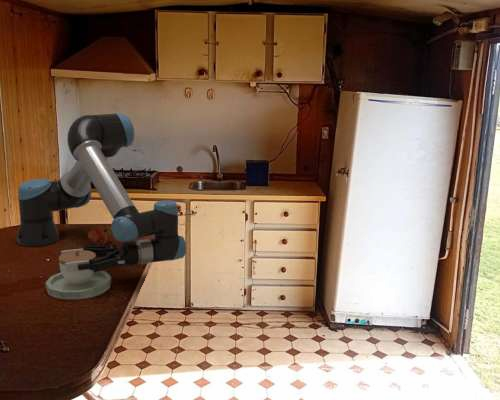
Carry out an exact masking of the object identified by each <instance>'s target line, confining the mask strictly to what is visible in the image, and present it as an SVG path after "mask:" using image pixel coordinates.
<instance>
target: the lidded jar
mask: <svg viewBox="0 0 500 400" xmlns="http://www.w3.org/2000/svg"><path fill="white" fill-rule="evenodd" d="M89 259H92V260H96V259H97V257H96V254H95V253H94V252H91V251H86V250H76V251H70V252H66V253H64V254H62V255H61V254H60V255H59V257H58V262H59V264H58V265H59V270H60V273H62V275H63V277H64V278H65V279H66V280H68V282H69V283H73V284H80V283H85V282H87V281H88V280H89V278H91V276H92V275H93V274H94V272H93V270H90V269H89V270H83V271H76V272H68V273H66V267H65V263H70V262H78V261H86V260H89Z"/></svg>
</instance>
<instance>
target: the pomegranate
mask: <svg viewBox="0 0 500 400" xmlns="http://www.w3.org/2000/svg"><path fill="white" fill-rule="evenodd" d="M107 231H108V229H107V228H106V229H104V230H103V229H101V228H92V229H90V231H89V232H88V234H87V238H88V239H89V240H91V242H90V243H89V244H88V245H87V246H90V245H92V244H93V245H106V244H107V242H108V235H107V234H106V233H107Z"/></svg>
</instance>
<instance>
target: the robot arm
mask: <svg viewBox="0 0 500 400" xmlns="http://www.w3.org/2000/svg"><path fill="white" fill-rule="evenodd" d="M133 125H134V124H133V122H132V121H131V119H130V117H128V115H127V114H124V113H116V112H115V113H107V114H105V113H103V114H86V115H81V116H79V117H78V118H76V119H75V120H74V121H73V122H72V124H71V125H70V127H69V129H68V132H67V147H68V149H69V152H70V154H71V155H72V158H73V159H74V160H75V161H76V162H75V163H74V164H73V166H72V168H71V169H70V171H67V172H65V173H63V174H62V176H61V178H60V179H59V180H53V181H51V180H50V178H44V177H43V178H34V179H29V180H27V181H24V182H22V183H21V184H19V186H18V188H17V190H18V191H17V192H18V193H17V198H18V206H19V207H18V208H19V219H20V224H19V228H18V231H17V233H16V234H17V235H16V241H17V242H16V243H17V245H19V246H22V247H23V246H24V247H41V246H47V245H51V244H55V243H56V242H58V241H60V240H59V239H60V233H59V232H60V231H58V228H57V224H56V223H55V220H54V212H58V211H59V212H60V211H64V210H68V209H69V210H70V209H77V208H81V207H84V206H86V205H88V204H89V202H91V201H90V200H91V198H92V193H93V188H92V185H93V186H94V188H95V190H96V191H97V193H98V196H99V197H100V198H101V200H102V201H103V203H104V205H105V207H106V208H107V210H108V212H109V213H110V215H111V217H112V219H113V220H112V221H111V224H110V226H111V227H110V230H111V231H112V236H113V237H114V238H115V240H117V241H118V242H121V243H122V242H123V243H122V247H117V245H116V244H115V243H114V244H109V245H106V244H105V245H95V244H90V245H89V246H88V245H84V246H83V248H76V249H67V250H65V249H64V250H61V251H60V255H62V254H64V253H66V252H70V251H76V250H86V251H91V252H94V253H95V254H96V260H92V259H89V260H86V261H78V262H70V263H65V267H66V273H68V272H76V271H83V270H89V269H90V270H93V272H98V271H106V270H109V269H114V268H116V267H117V268H118V267H124V266H126V267H129V266H137V265H138V264H139V265H143V264H144V265H148V264H149V263H150V264H151V263H157V262H165V261H167V262H168V261H174V260H179V259H183V258H184V257H185V256H186V253H187V246H186V241H185V238H184V236H182V235H179V207H178V204H177V202H176V201H173V200H167V199H166V200H158V201H156V202H155V203H154V204H153V209H152V210H148V211H142V212H139V210H138V208H137V207H136V205H135V204H134V202H133V200H132V198H130V196H129V193H128V192H127V191H126V189H125V188H124V186H123V184H122V183H121V181H120V179H119V178H118V176H117V174H116V172H115V171H114V169H113V168H112V166H111V164H110V162H109V161H108V159H109V158H113V157H115V156H116V155H117V154H118V153H119V152H120V150H121V149H122V148H128V147H130V146H132V145H133V143H134V141H135V130H134V129H135V127H134V126H133ZM91 183H92V185H91ZM153 235H154V237H153V238H147V239H141V238H144V237H149V236H153ZM137 239H139V240H137ZM135 240H137V241H135Z"/></svg>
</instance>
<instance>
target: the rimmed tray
mask: <svg viewBox="0 0 500 400" xmlns="http://www.w3.org/2000/svg"><path fill="white" fill-rule="evenodd" d="M111 283H112V276H111V275H110V274H109V273H108V272H107V271H106V270H102V271H98V272H94V274H93V275H92V276H91V278H89V280H88V281H87V282H85V283H80V284H73V283H69V282H68V280H66V279H65V278H64V277H63V275H62V273H61V272H59V273H56V274H54V275H53V274H52V275H51V276H50V277H49V278H48V279H47V280H46V281H45V289H46V291H47V294H48V295H49V296H50V297H52V298H54V299H56V300H57V299H58V300H63V301H64V300H65V301H77V300H78V301H79V300H87V299H91V298H95V297H97V296H100V295H103V294H104V293H106V292H107V291H108V290H110V288H111Z"/></svg>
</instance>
